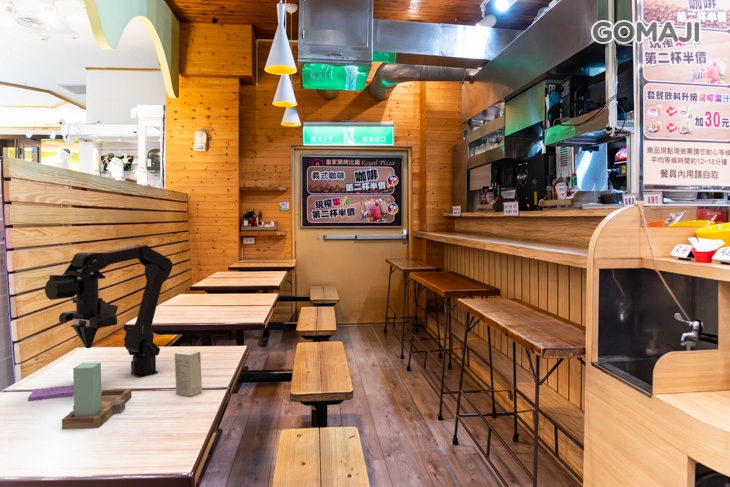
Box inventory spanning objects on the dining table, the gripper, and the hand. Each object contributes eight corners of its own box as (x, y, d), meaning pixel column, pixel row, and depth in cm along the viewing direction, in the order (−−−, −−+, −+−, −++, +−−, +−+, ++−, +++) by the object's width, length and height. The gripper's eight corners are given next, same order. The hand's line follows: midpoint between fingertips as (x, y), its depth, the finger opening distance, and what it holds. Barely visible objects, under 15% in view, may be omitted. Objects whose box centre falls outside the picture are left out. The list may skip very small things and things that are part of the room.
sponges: (79, 397, 134) (79, 390, 134) (26, 403, 129) (26, 396, 129) (83, 389, 140) (83, 383, 140) (34, 394, 136) (34, 388, 136)
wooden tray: (94, 398, 131) (94, 389, 131) (137, 397, 132) (137, 388, 132) (55, 429, 111) (54, 418, 111) (105, 427, 113) (105, 416, 112)
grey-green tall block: (83, 413, 118) (82, 362, 117) (101, 412, 118) (100, 362, 118) (74, 420, 113) (73, 368, 113) (93, 419, 114) (92, 367, 113)
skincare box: (202, 392, 136) (201, 351, 136) (191, 397, 132) (190, 355, 132) (186, 389, 139) (185, 348, 139) (174, 393, 135) (174, 352, 135)
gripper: (133, 293, 139) (134, 345, 140) (93, 289, 147) (94, 338, 148) (97, 298, 129) (98, 354, 130) (57, 294, 137) (58, 346, 138)
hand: (88, 347), depth 136 cm, fingers closed
